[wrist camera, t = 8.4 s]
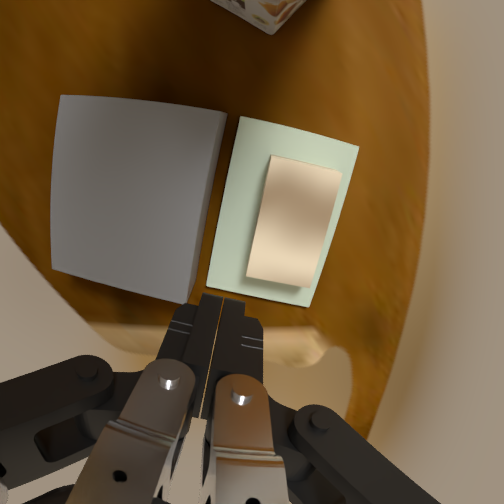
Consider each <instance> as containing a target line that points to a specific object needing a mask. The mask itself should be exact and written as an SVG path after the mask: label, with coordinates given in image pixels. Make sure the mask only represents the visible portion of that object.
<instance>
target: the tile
mask: <svg viewBox="0 0 504 504" xmlns="http://www.w3.org/2000/svg"><path fill="white" fill-rule="evenodd" d="M341 178H342V173H341V172H339V171H338V170H336V169H332V168H328V167H324V166H320V165H316V164H312V163H307V162H303V161H299V160H295V159H290V158H286V157H281V156H276V155H272V154H271V156H270V160H269V165H268V170H267V174H266V179H265V184H264V188H263V193H262V198H261V202H260V207H259V212H258V216H257V221H256V226H255V230H254V235H253V240H252V245H251V249H250V254H249V259H248V263H247V270H246V276H247V277H253V278H258V279H263V280H268V281H273V282H279V283H284V284H289V285H295V286H300V287H306V288H310V286H311V283H312V280H313V277H314V273H315V270H316V267H317V263H318V260H319V257H320V253H321V250H322V247H323V243H324V240H325V236H326V233H327V229H328V226H329V222H330V219H331V215H332V211H333V208H334V204H335V200H336V197H337V193H338V189H339V185H340V181H341Z"/></svg>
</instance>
